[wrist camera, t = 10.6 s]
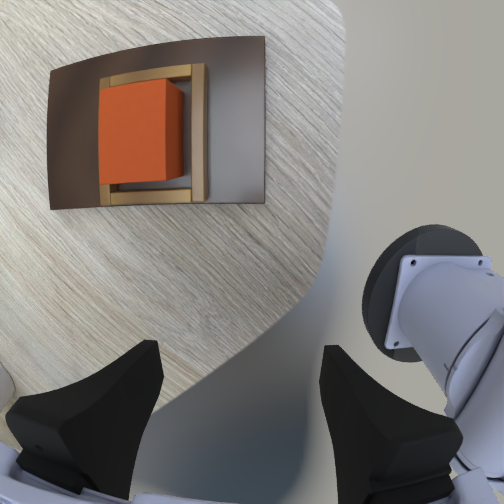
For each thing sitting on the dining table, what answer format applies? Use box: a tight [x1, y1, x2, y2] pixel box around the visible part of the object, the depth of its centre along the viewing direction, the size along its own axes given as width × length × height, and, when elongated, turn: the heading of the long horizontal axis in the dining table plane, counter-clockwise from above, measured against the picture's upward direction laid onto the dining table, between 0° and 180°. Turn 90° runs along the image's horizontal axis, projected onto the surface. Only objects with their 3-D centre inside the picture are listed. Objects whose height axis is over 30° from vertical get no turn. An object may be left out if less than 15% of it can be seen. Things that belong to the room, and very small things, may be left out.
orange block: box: [99, 78, 183, 185], centre depth 16 cm, size 4×6×4 cm
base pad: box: [47, 36, 265, 210], centre depth 17 cm, size 16×11×2 cm
